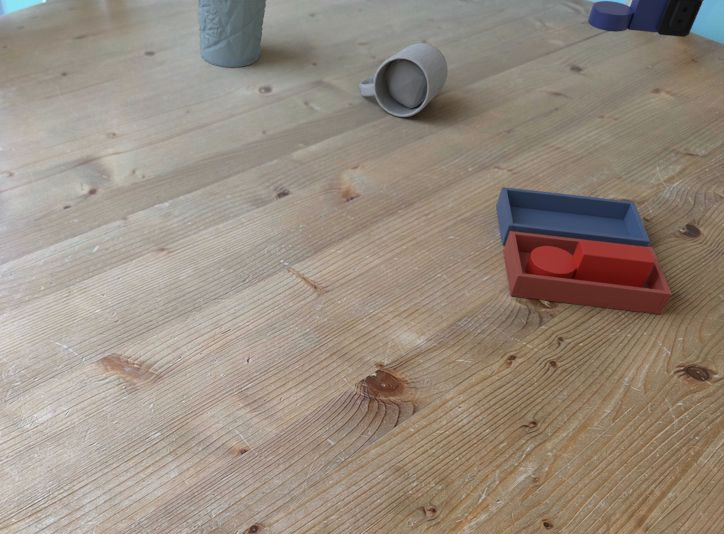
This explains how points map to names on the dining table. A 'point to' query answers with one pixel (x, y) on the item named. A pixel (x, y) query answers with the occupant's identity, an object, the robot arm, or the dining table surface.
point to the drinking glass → (230, 31)
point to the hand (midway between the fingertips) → (668, 27)
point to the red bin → (579, 291)
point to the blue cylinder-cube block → (628, 15)
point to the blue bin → (570, 217)
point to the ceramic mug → (407, 80)
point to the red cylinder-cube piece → (594, 263)
